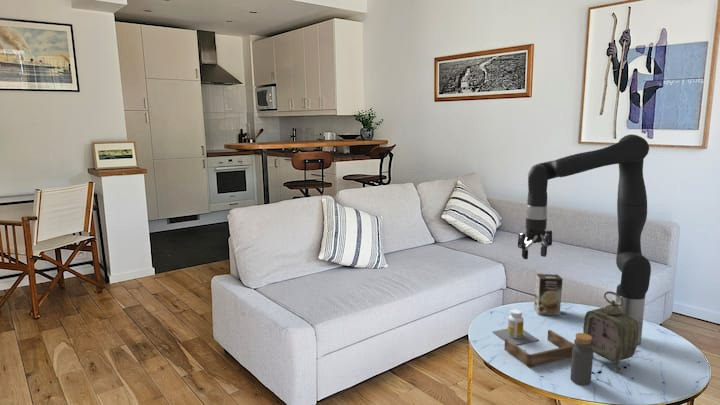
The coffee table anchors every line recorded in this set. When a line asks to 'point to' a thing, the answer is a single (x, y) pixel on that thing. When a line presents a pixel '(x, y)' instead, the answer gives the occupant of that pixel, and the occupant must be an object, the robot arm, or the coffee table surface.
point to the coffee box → (548, 294)
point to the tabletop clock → (611, 332)
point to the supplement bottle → (515, 324)
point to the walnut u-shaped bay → (545, 356)
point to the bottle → (582, 359)
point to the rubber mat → (524, 339)
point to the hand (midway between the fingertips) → (534, 257)
